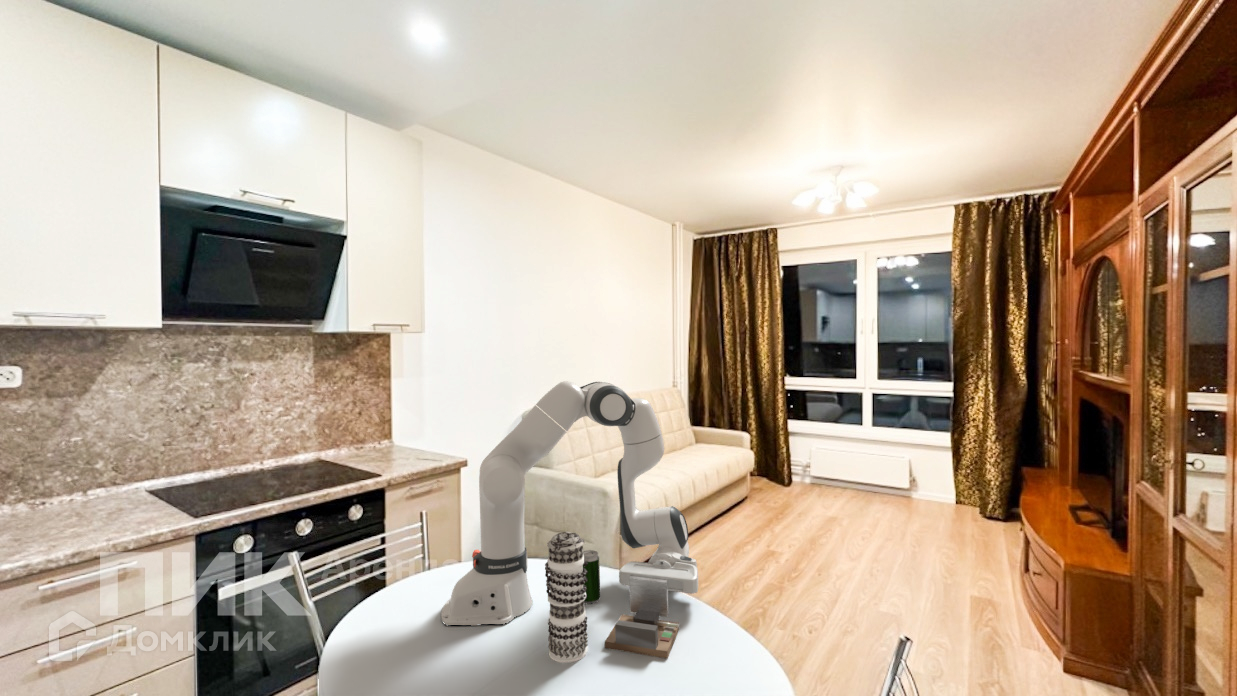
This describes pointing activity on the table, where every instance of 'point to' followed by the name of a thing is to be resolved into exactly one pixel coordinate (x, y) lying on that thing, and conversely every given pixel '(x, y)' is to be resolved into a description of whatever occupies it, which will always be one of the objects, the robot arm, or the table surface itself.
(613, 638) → the base
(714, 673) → the table surface
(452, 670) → the table surface
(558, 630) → the decorative candle
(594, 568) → the green soda can
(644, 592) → the brushed metal plate
